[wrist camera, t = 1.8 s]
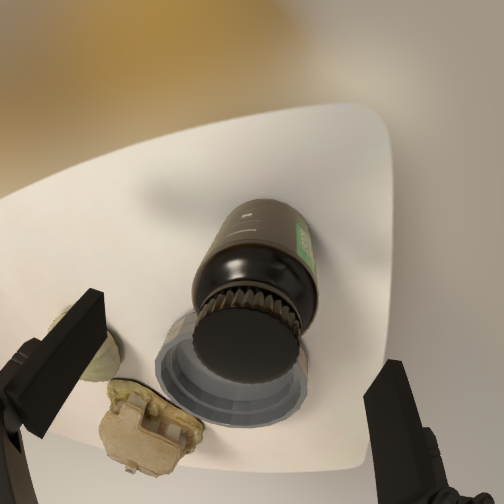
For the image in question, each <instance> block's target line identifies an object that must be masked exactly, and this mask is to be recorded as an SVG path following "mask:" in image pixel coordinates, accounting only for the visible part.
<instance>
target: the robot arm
mask: <svg viewBox="0 0 504 504" xmlns="http://www.w3.org/2000/svg"><path fill="white" fill-rule="evenodd" d="M107 337H108V336H107V326H106V315H105V303H104V292H101V291H98V290H95V289H92V288H89V289H88V290H87V291H86V293H85V294H84V295H83V296H82V297H81V298H80V299H79V300H78V301H77V302H76V303H75V304H74V305H73V306H72V308H71V309H70V310H69V311H68V312H67V313H66V314H65V315H64V316H63V317H62V318H61V320H60V321H59V322H58V323H57V324H56V325H55V326H54V327H53V329H52V330H51V331H50V332H49V333H48V334H47V335H46V337H45V338H44V339H43V340H42V341H40V340H38V339H36V338H32V339H31V340H29V341H27V342H25V343H24V344H23V345H22V346H21V347H20V348H19V350H18V351H17V353H15V354H14V355H13V357H12V359H11V360H9V361H8V362H7V364H6V365H5V366H4V367H3V368H2V370H1V371H0V504H38V501H37V498H36V495H35V492H34V488H33V484H32V481H31V477H30V473H29V469H28V464H27V460H26V456H25V451H24V446H23V441H22V435H21V431H20V426H21V425H22V423H23V424H24V426H25V427H26V429H27V430H28V431H29V432H31V433H32V434H34V435H36V436H38V437H40V438H41V439H43V437H44V435H45V433H46V432H47V430H48V428H49V427H50V425H51V423H52V422H53V420H54V418H55V417H56V415H57V414H58V412H59V410H60V409H61V407H62V405H63V404H64V402H65V401H66V399H67V398H68V396H69V394H70V393H71V391H72V390H73V388H74V387H75V385H76V383H77V382H78V380H79V379H80V377H81V376H82V374H83V373H84V371H85V370H86V368H87V367H88V365H89V364H90V362H91V361H92V359H93V358H94V356H95V355H96V353H97V352H98V350H99V349H100V347H101V346H102V345H103V343H104V342H105V340H106V339H107ZM363 398H364V404H365V410H366V416H367V422H368V428H369V434H370V441H371V448H372V455H373V462H374V470H375V479H376V487H377V497H378V504H494V500H493V498H492V496H491V495H490V494H488V493H481V494H478V495H477V496H476V497H474V498H472V497H465V496H460V495H459V493H458V491H457V490H455V489H454V488H452V487H449V485H448V482H447V478H446V475H445V470H444V466H443V462H442V458H441V456H440V451H439V448H438V444H437V440H436V437H435V435H434V434H433V432H432V431H431V429H430V428H429V427H422V424H421V420H420V417H419V414H418V411H417V407H416V404H415V400H414V397H413V394H412V391H411V388H410V385H409V381H408V378H407V376H406V373H405V369H404V367H403V364H402V361H398V360H390V359H388V360H387V362H386V363H385V365H384V366H383V368H382V369H381V371H380V372H379V374H378V375H377V377H376V378H375V380H374V381H373V383H372V384H371V386H370V387H369V389H368V390H367V392H366V393H365V394H364V396H363Z"/></svg>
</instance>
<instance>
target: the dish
mask: <svg viewBox="0 0 504 504" xmlns="http://www.w3.org/2000/svg"><path fill="white" fill-rule="evenodd" d="M196 320H197V315H196V313H193V314H189V315H187V316H186V317H184V318H183V319H182V320H180V321H179V322H178V323H176V324H175V325H174V326H173V327H172V328H171V330H170V332H169V334H168V336H167V338H166V340H165V342H164V344H163V346H162V348H161V350H160V352H159V354H158V356H157V358H156V360H155V374H156V378H157V380H158V382H159V384H160V386H161V388H162V390H163V392H164V393H165V394H166V395H167V396H168V397H169V398H170V399H171V400H172V402H173V403H174V404H175V405H177V406H178V407H180V408H181V409H183V410H184V411H186V412H187V413H189V414H190V415H192V416H195V417H197V418H199V419H201V420H204V421H206V422H209V423H212V424H216V425H221V426H225V427H231V428H257V427H264V426H270V425H272V424H275V423H278V422H280V421H283V420H285V419H287V418H288V417H290V416H291V415H292V414H293V413H295V412H296V411H297V410H298V409H299V408H300V407H301V405H302V403H303V401H304V400H305V398H306V396H307V357H306V355H305V353H304V351H303V349H302V347H301V345H300V354H299V356H298V360H297V363H295V364H294V365H293V369H291V370H289V371H288V373H287V374H286V375H283V376H281V378H280V379H275V380H273V381H272V382H266V383H263V384H254V385H251V384H241V383H236V382H232V381H230V380H225V379H223V378H222V377H220V376H217V375H215V374H214V373H213V372H211V371H209V370H208V369H207V367H206V366H204V365H202V363H201V361H200V360H199V359H198V358H197V354H196V353H195V352H194V350H193V349H194V346H193V344H192V339H193V337H192V332H193V329H194V326H195V323H196Z"/></svg>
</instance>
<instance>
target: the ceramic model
mask: <svg viewBox="0 0 504 504" xmlns="http://www.w3.org/2000/svg"><path fill="white" fill-rule="evenodd" d="M107 389H108V393H107V394H108V397H109V399H111V406H110V410H109V411H107V412H106V414H105V416H104V418H103V419H102V421H101V423H100V425H99V436H100V438H101V440H102V441H103V444H104V446H105V449H106V452H107V456H109V457H110V458H111V459H113V460H115V461H117V462H119V463H122V464H125V465H126V466H125V470H126V472H129V473H131V474H134V473H135V472H136V470H139V471H140V472H142V473H144V474H147V475H150V476H153V477H156V478H157V477H158V476H160V475H164V474H170V473H171V472H172V471H173V470H174V468H175V466H176V465H177V463H178V461H179V460H180V459H181V458H182V457H184V455H185V454H190V453H192V452H194V449H195V448H196V445H198V444H199V443H201V441H202V439H203V426H202V425H201V423H200V422H199V421H198V420H197V419H196V418H195V417H194V416H192V415H190V414H189V413H187V412H185V411H183V410H181V409H178V408H176V407H174V406H173V405H171V404H170V403H168V402H166V401H165V400H163V399H162V398H160V397H159V396H158V395H156V394H155V393H154V392H153V391H151V390H150V389H148V388H146V387H144V386H142V385H140V384H138V383H136V382H132V381H125V380H111V381H110V382H109V383H108V387H107Z"/></svg>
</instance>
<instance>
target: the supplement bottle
mask: <svg viewBox="0 0 504 504" xmlns="http://www.w3.org/2000/svg"><path fill="white" fill-rule="evenodd" d="M192 303H193V307H194V310H195V313H196V315H197V320H196V323H195V326H194V329H193V332H192V337H193V339H192V344H193V346H194V349H193V350H194V352H195V353H196V354H197V358H198V359H199V360H200V361H201V363H202V365H204V366H206V367H207V369H208V370H209V371H211V372H213V373H214V374H215V375H217V376H220V377H222V378H223V379H225V380H230V381H232V382H236V383H241V384H251V385H254V384H263V383H266V382H272V381H273V380H275V379H280V378H281V376H283V375H286V374H287V373H288V371H289V370H291V369H293V365H294V364H295V363H297V360H298V356H299V354H300V339H301V337H302V336H303V335H304V334H305V333H306V331H307V330H308V329H309V328H310V326H311V325H312V323H313V321H314V319H315V317H316V314H317V310H318V304H319V291H318V283H317V275H316V267H315V260H314V253H313V245H312V239H311V234H310V231H309V228H308V226H307V223H306V222H305V220H304V218H303V217H302V216H301V215H300V214H299V213H298V212H297V211H296V210H295V209H294V208H292V207H291V206H289V205H287V204H285V203H283V202H280V201H277V200H273V199H256V200H252V201H249V202H246V203H244V204H242V205H240V206H239V207H237V208H236V209H235V210H234V211H233V212H231V214H230V215H229V216H228V217H227V219H226V220H225V222H224V223H223V225H222V227H221V228H220V230H219V232H218V234H217V235H216V237H215V239H214V241H213V243H212V244H211V246H210V248H209V250H208V251H207V253H206V255H205V257H204V259H203V260H202V262H201V264H200V266H199V268H198V270H197V272H196V274H195V277H194V280H193V284H192Z"/></svg>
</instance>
